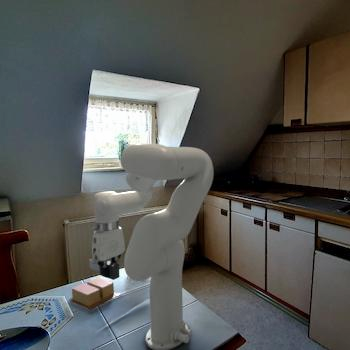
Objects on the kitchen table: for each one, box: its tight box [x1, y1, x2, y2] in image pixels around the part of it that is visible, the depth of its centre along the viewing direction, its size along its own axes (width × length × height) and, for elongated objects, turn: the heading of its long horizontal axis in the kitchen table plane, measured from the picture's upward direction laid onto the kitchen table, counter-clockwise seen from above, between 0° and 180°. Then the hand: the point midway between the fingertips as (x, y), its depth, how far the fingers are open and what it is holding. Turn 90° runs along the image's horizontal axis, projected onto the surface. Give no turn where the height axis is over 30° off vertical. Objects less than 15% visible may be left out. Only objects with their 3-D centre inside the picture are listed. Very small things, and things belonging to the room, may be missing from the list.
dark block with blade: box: [88, 258, 121, 281], centre depth 97 cm, size 16×2×5 cm, turn 63°
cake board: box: [68, 291, 121, 311], centre depth 101 cm, size 14×12×1 cm
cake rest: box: [86, 276, 115, 299], centre depth 103 cm, size 10×4×4 cm, turn 63°
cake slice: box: [71, 282, 100, 306], centre depth 98 cm, size 10×4×4 cm, turn 63°
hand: (109, 274), depth 95 cm, fingers closed on dark block with blade, 2 cm apart
